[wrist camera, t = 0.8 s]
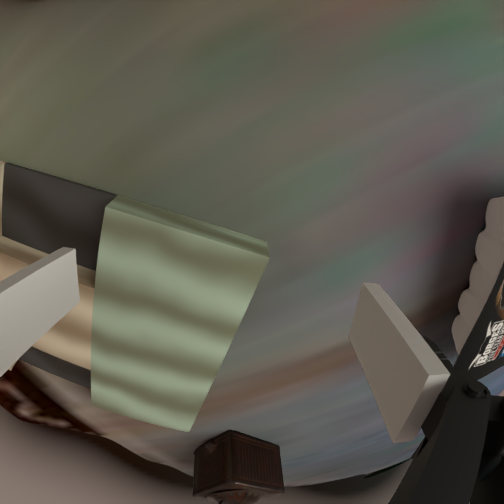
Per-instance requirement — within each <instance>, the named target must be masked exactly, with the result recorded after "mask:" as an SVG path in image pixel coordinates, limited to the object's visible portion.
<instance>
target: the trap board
mask: <svg viewBox="0 0 504 504" xmlns="http://www.w3.org/2000/svg"><path fill="white" fill-rule="evenodd" d="M62 247H67V248H74V249H76V263H77V275H78V286H79V295H80V302H79V303H78V304H77V305H76V306H75V307H74V308H72V309H71V310H70V311H69V312H68V313H67V314H66V315H65V316H64V317H62V318H61V319H60V320H59V321H58V322H57V323H56V324H55V325H54V326H53V327H51V328H50V329H49V330H48V331H47V332H46V333H45V334H44V335H43V336H42V337H41V338H40V339H39V340H38V341H36V342H35V343H34V344H33V345H32V346H31V347H30V348H29V349H28V350H27V351H26V352H25V353H24V354H23V355H22V356H21V357H20V358H19V359H21V360H23V361H25V362H27V363H29V364H31V365H33V366H36V367H38V368H40V369H42V370H45V371H47V372H49V373H52V374H54V375H56V376H59V377H61V378H64V379H66V380H69V381H71V382H74V383H77V384H79V385H82V386H85V387H87V388H90V389H91V401H92V405H93V406H96V407H98V408H101V409H104V410H107V411H110V412H114V413H117V414H120V415H123V416H127V417H130V418H133V419H137V420H141V421H144V422H148V423H152V424H156V425H160V426H164V427H168V428H172V429H177V430H181V431H186V432H189V431H190V429H191V427H192V425H193V423H194V421H195V419H196V416H197V414H198V412H199V410H200V408H201V406H202V404H203V402H204V400H205V398H206V395H207V393H208V391H209V389H210V387H211V385H212V383H213V381H214V378H215V376H216V374H217V372H218V370H219V368H220V366H221V364H222V361H223V359H224V357H225V355H226V353H227V351H228V348H229V346H230V344H231V342H232V340H233V338H234V336H235V333H236V331H237V329H238V327H239V325H240V322H241V320H242V318H243V316H244V314H245V312H246V309H247V307H248V305H249V303H250V301H251V298H252V296H253V294H254V292H255V290H256V287H257V285H258V283H259V281H260V278H261V276H262V274H263V272H264V270H265V267H266V265H267V263H268V261H269V258H270V256H269V252H268V247H267V242H266V241H263V240H260V239H257V238H254V237H251V236H248V235H245V234H242V233H238V232H235V231H232V230H229V229H226V228H223V227H220V226H216V225H213V224H210V223H207V222H204V221H200V220H197V219H194V218H191V217H188V216H184V215H181V214H178V213H175V212H172V211H168V210H165V209H162V208H159V207H155V206H152V205H149V204H146V203H142V202H139V201H136V200H133V199H129V198H126V197H123V196H119V195H116V194H113V193H109V192H106V191H103V190H99V189H96V188H93V187H89V186H86V185H83V184H79V183H76V182H73V181H69V180H66V179H62V178H59V177H56V176H52V175H49V174H45V173H42V172H39V171H35V170H32V169H28V168H25V167H21V166H18V165H14V164H11V163H7V162H4V161H0V282H1V281H2V280H4V279H6V278H8V277H9V276H11V275H13V274H14V273H16V272H18V271H20V270H22V269H23V268H25V267H27V266H29V265H30V264H32V263H34V262H36V261H38V260H40V259H41V258H43V257H45V256H47V255H49V254H51V253H53V252H54V251H56V250H58V249H60V248H62ZM15 363H16V362H15ZM15 363H14V364H15ZM14 364H13V365H12V366H11V367H10V368H9V370H12V368H13V366H14Z"/></svg>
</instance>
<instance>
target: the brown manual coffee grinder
mask: <svg viewBox="0 0 504 504" xmlns="http://www.w3.org/2000/svg"><path fill="white" fill-rule="evenodd" d="M194 454H195V461H194V482H193V497H195V498H198V499H202V500H207V501H211V502H216V503H218V504H256V503H257V502H261V501H264V500H267V499H270V498H273V497H276V496H278V495H281V494H284V483H283V474H282V466H281V458H280V447H279V446H278V445H275V444H273V443H270V442H267V441H264V440H261V439H258V438H255V437H252V436H249V435H246V434H243V433H240V432H237V431H233V430H229V431H227V432H225V433H223V434H221V435H220V436H217V437H215V438H213V439H211V440H209V441H208V442H206V443H205V444H204V445H202V446H201V447H199V448H198V449H197V450H196V451H195V452H194Z"/></svg>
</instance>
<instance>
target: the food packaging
mask: <svg viewBox="0 0 504 504" xmlns="http://www.w3.org/2000/svg"><path fill="white" fill-rule="evenodd" d="M485 221H486V228H485V229H484V231H482V232H480V233H479V235H478V238H477V241H476V246H475V254H476V257H477V261H476V262H475V263H474V264H473V267H472V269H471V273H470V277H469V282H470V287H469V288H468V289H466V290H464V291H463V292H462V294H461V296H460V299H459V302H458V309H459V312H460V314H459V315H457V316H456V317H455V319H454V322H453V324H452V328H451V331H452V336H453V339H454V342H455V346H456V350H457V353H458V358H457V360H456V362H455V364H454V368H455V369H456V370H457V372H458V373H459V374H460V376H461V377H462V378H470V379H474V380H478V379H480V378H482V377H484V376H486V375H488V374H489V373H491V372H493V371H495V370H496V369H498V368H500V367H502V366H504V196H503V197H498V198H492V199H490V200H489V202H488V205H487V209H486V215H485Z"/></svg>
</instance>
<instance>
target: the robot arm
mask: <svg viewBox="0 0 504 504" xmlns="http://www.w3.org/2000/svg"><path fill="white" fill-rule="evenodd" d="M79 302H80V295H79V286H78V275H77V263H76V249H74V248H67V247H62V248H60V249H58V250H56V251H54V252H53V253H51V254H49V255H47V256H45V257H43V258H41V259H40V260H38V261H36V262H34V263H32V264H30V265H29V266H27V267H25V268H23V269H22V270H20V271H18V272H16V273H14V274H13V275H11V276H9V277H8V278H6V279H4V280H2V281H1V282H0V377H1V376H2V375H3V374H4V373H5V372H6V371H7V370H8V369H9V368H10V367H11V366H12V365H13V364H14V363H15V362H16V361H17V360H18V359H19V358H20V357H21V356H22V355H23V354H24V353H25V352H26V351H27V350H28V349H29V348H30V347H31V346H32V345H33V344H34V343H35V342H36V341H38V340H39V339H40V338H41V337H42V336H43V335H44V334H45V333H46V332H47V331H48V330H49V329H50V328H51V327H53V326H54V325H55V324H56V323H57V322H58V321H59V320H60V319H61V318H62V317H64V316H65V315H66V314H67V313H68V312H69V311H70V310H71V309H72V308H74V307H75V306H76V305H77V304H78V303H79ZM349 339H350V341H351V343H352V346H353V348H354V350H355V352H356V355H357V357H358V359H359V362H360V364H361V366H362V369H363V371H364V373H365V376H366V378H367V380H368V383H369V385H370V388H371V390H372V392H373V395H374V397H375V400H376V402H377V405H378V407H379V409H380V412H381V414H382V417H383V419H384V422H385V424H386V427H387V430H388V432H389V435H390V437H391V440H392V442H393V443H399V442H407V441H413V440H414V439H415V437H416V435H417V434H418V432H419V431H420V429H421V428H422V430H423V432H424V434H425V438H424V439H423V441H422V442H421V444H420V445H419V447H418V448H417V450H416V451H415V452H414V454H413V455H412V457H411V458H412V459H413V460H412V462H411V464H410V466H409V468H408V470H407V472H406V474H405V476H404V478H403V479H402V481H401V483H400V485H399V487H398V488H397V490H396V492H395V494H394V495H393V497H392V499H391V500H390V502H389V503H388V504H469V502H470V504H504V397H503V396H493V395H491V394H490V391H489V390H488V388H487V387H486V386H485V385H483V384H482V383H481V382H479V381H477V380H474V379H470V378H462V377H461V376H460V374H459V373H458V372H457V370H456V369H455V368H454V367H453V365H452V364H451V363H450V361H449V360H447V358H446V356H445V355H444V354H443V353H441V352H442V351H441V350H440V349H439V348H438V346H437V345H436V344H435V343H434V342H432V341H431V340H429V339H428V338H426V337H422V336H421V335H420V334H419V332H418V331H417V330H416V329H415V327H414V326H413V325H412V324H411V323H410V321H409V320H408V319H407V318H406V316H405V315H404V314H403V313H402V312H401V310H400V309H399V308H398V307H397V305H396V304H395V303H394V302H393V301H392V300H391V298H390V297H389V296H388V295H387V294H386V292H385V291H384V290H383V289H382V288H381V287H380V285H379V284H374V283H362V287H361V291H360V295H359V299H358V303H357V307H356V311H355V315H354V319H353V323H352V326H351V330H350V333H349Z"/></svg>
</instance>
